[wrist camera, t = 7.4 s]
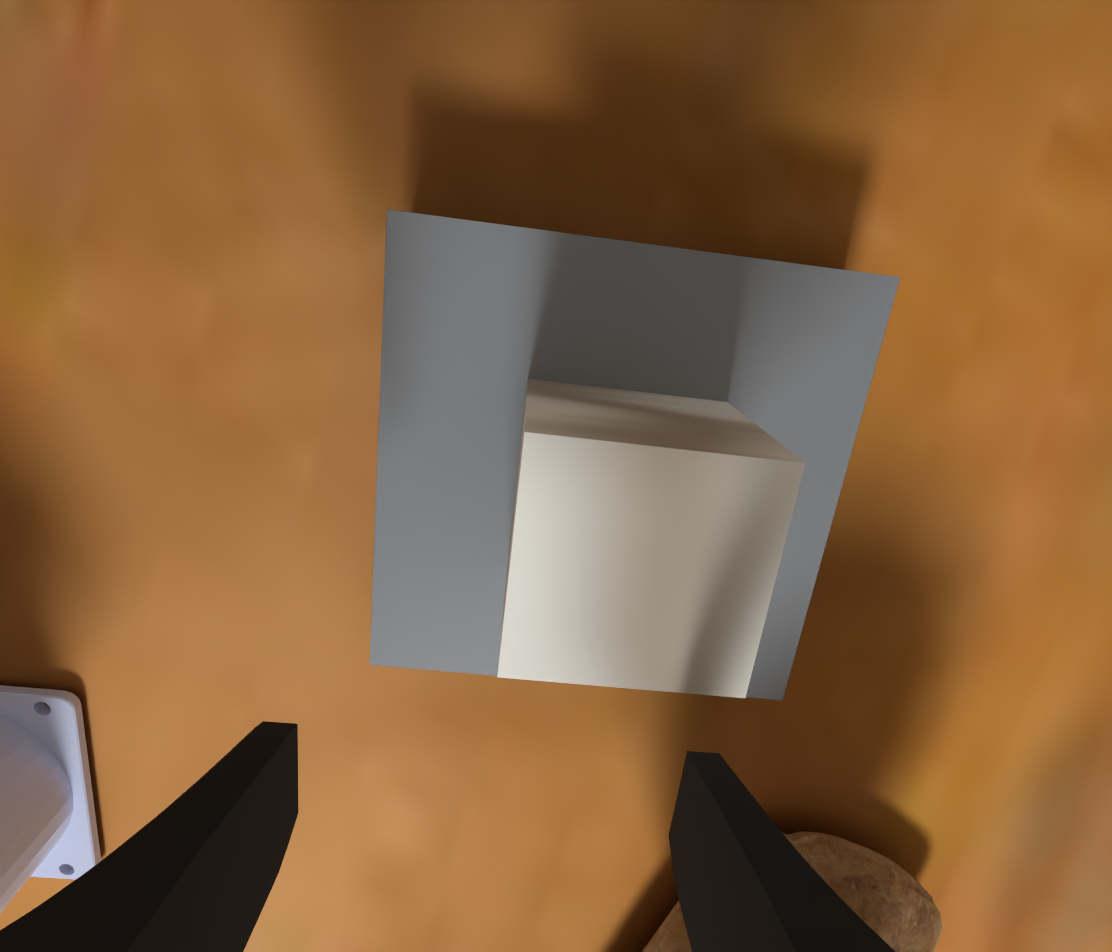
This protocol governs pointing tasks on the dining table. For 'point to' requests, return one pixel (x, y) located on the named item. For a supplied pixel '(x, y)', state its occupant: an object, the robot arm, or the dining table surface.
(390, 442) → the base
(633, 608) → the cube
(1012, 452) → the dining table surface
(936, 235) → the dining table surface
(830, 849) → the stone cup
